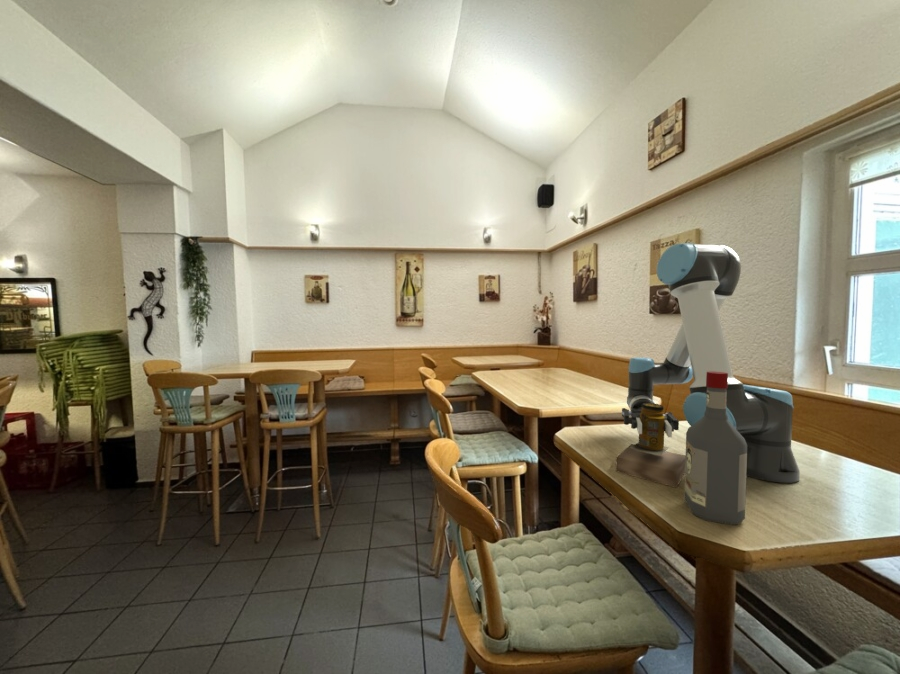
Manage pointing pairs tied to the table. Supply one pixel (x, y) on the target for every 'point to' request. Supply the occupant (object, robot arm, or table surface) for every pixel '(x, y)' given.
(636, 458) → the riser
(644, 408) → the condiment
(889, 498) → the table surface
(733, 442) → the liquor
